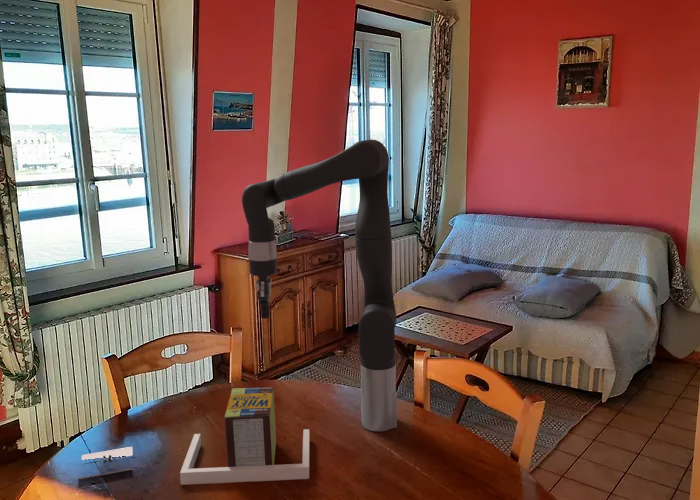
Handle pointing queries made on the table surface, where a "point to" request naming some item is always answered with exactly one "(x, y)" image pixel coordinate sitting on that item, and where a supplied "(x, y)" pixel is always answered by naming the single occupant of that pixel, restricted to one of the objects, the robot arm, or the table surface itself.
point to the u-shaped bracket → (242, 468)
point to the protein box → (250, 427)
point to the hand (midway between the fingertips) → (265, 317)
